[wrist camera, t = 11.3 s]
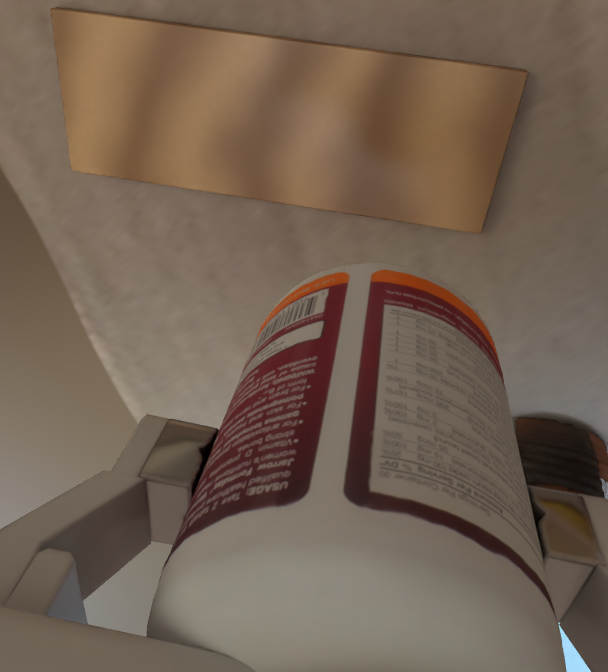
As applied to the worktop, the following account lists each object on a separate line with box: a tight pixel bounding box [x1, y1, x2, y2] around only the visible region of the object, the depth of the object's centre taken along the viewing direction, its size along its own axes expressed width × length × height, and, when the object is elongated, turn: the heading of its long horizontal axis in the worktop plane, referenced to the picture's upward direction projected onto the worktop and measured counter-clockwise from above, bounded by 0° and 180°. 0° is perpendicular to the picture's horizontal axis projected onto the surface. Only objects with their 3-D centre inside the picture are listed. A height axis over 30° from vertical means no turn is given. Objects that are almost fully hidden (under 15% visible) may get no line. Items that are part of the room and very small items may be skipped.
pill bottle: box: [147, 263, 566, 672], centre depth 10 cm, size 6×6×11 cm
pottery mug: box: [515, 418, 608, 498], centre depth 33 cm, size 12×10×8 cm
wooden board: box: [51, 7, 528, 234], centre depth 26 cm, size 20×7×1 cm, turn 84°
